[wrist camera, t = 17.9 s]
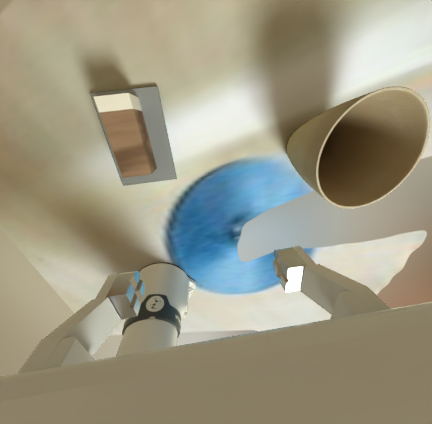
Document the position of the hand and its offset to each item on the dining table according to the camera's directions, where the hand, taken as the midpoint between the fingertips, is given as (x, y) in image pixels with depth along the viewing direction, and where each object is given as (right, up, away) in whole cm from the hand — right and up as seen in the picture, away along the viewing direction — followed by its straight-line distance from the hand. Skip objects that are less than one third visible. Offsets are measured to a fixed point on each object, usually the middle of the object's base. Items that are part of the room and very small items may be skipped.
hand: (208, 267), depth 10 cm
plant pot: (+19, +18, +26) cm, 37 cm away
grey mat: (-14, +17, +22) cm, 32 cm away
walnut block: (-14, +11, +22) cm, 28 cm away
